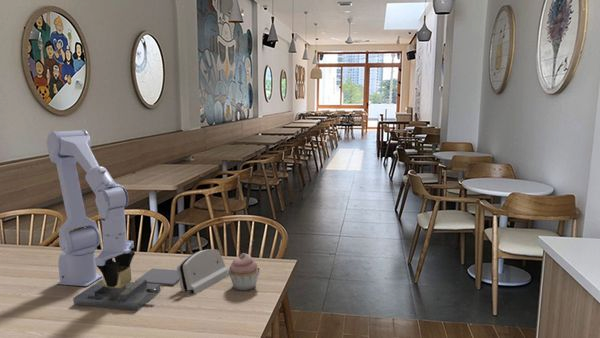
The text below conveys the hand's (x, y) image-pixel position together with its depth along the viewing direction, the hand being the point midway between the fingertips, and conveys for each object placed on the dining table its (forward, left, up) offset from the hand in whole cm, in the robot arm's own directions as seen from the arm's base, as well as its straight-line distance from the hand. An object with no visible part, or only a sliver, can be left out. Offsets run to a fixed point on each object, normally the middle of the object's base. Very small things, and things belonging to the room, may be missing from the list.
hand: (117, 282), depth 121 cm
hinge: (+18, +14, -5) cm, 24 cm away
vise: (+1, 0, -4) cm, 5 cm away
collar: (0, 0, 0) cm, 0 cm away
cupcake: (+31, +13, -5) cm, 34 cm away
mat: (+5, +15, -4) cm, 16 cm away
